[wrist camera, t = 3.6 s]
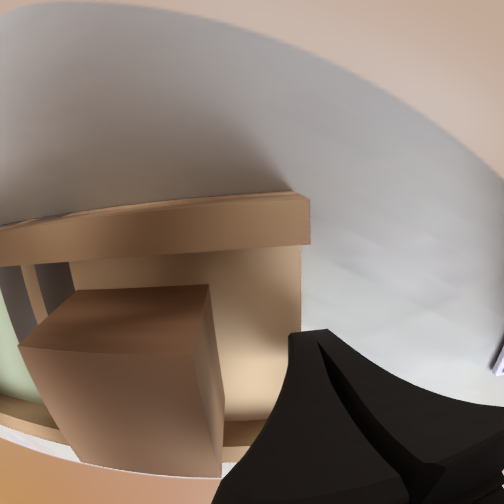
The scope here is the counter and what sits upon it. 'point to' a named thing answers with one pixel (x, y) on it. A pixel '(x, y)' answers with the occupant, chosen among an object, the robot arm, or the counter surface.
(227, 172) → the counter surface
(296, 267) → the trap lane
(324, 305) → the counter surface
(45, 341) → the walnut block
